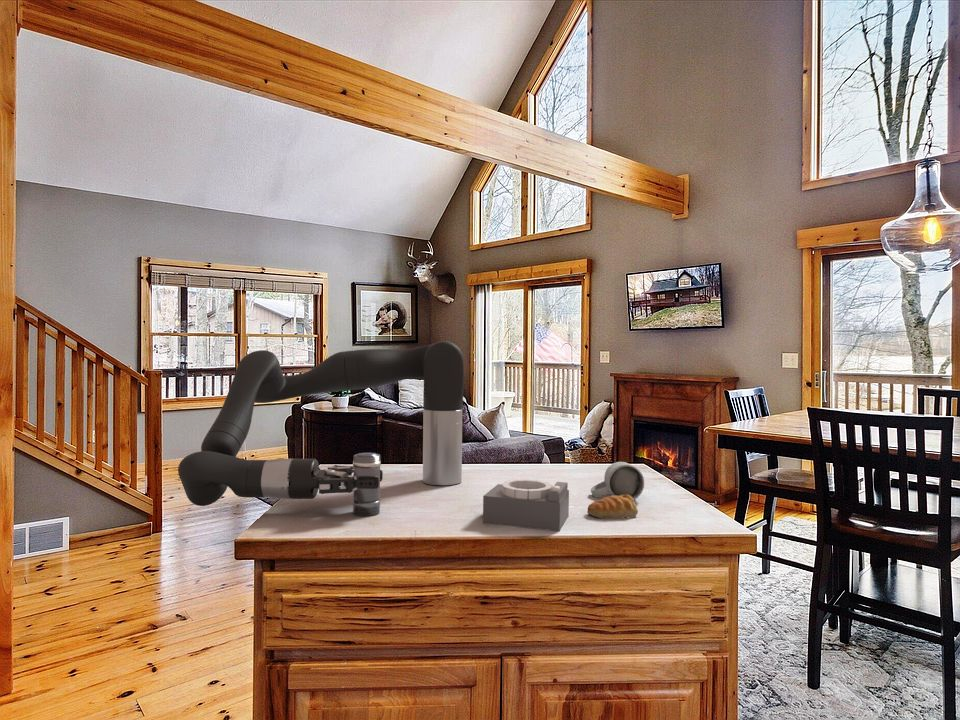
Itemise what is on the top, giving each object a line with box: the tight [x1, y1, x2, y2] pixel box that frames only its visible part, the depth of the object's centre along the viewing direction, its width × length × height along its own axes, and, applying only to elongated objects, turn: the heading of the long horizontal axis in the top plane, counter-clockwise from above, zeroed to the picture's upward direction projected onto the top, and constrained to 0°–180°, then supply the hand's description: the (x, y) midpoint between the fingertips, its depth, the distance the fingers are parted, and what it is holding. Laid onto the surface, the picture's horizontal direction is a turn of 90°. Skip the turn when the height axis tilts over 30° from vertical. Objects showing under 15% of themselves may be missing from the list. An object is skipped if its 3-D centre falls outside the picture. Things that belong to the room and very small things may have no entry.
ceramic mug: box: [590, 461, 645, 500], centre depth 130 cm, size 11×8×8 cm
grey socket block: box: [482, 478, 570, 532], centre depth 111 cm, size 10×14×7 cm
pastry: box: [587, 494, 639, 519], centre depth 116 cm, size 9×7×4 cm
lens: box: [352, 452, 382, 517], centre depth 115 cm, size 5×5×11 cm
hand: (380, 478), depth 115 cm, fingers open, 5 cm apart
